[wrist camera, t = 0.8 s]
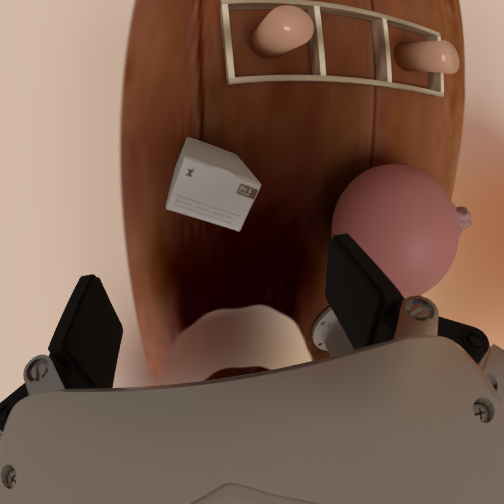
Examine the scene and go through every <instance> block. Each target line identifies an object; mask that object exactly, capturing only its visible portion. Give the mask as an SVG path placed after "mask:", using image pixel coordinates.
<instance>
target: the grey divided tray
mask: <svg viewBox="0 0 504 504" xmlns="http://www.w3.org/2000/svg"><path fill="white" fill-rule="evenodd" d="M219 7H220V18H221V29H222V39H223V49H224V60H225V70H226V80H227V85H233V84H244V83H259V82H284V81H312V82H337V83H352V84H363V85H372V86H381V87H388V88H395V89H401V90H407V91H413V92H418V93H423V94H428V95H433V96H440V97H444V78H443V73H450V74H454V73H456V72H457V70H458V68H459V57H458V53H457V51H456V49H455V48H454V46H453V45H452V44H451V43H449V42H448V41H441V38H440V33H438V32H436V31H433V30H430V29H428V28H425V27H422V26H420V25H417V24H414V23H411V22H408V21H405V20H402V19H398V18H395V17H391V16H388V15H384V14H380V13H376V12H372V11H368V10H364V9H359V8H354V7H349V6H343V5H338V4H331V3H324V2H316V1H307V0H221V2H220V6H219ZM253 9H272V11H271V12H270V13H269V14H268V15H267V16H266V17H265V19H264V20H263V21H262V22H261V23H260V24H259V26H258V27H257V28H256V29H255V30H254V31H253V33H252V34H251V36H250V46H251V48H252V50H253V51H254V52H255V53H256V54H257V55H259V56H261V57H264V58H275V57H278V56H280V55H282V54H284V53H286V52H288V51H290V50H292V49H294V48H296V47H298V46H300V45H303V44H305V43H306V42H308V41H309V46H310V57H311V70H312V75H265V76H247V77H235V73H234V63H233V53H232V42H231V32H230V22H229V10H253ZM305 11H306V12H305ZM320 13H327V14H334V15H341V16H347V17H352V18H358V19H363V20H368V21H371V23H372V31H373V41H374V52H375V66H376V80H371V79H362V78H352V77H340V76H326V68H325V55H324V44H323V33H322V24H321V15H320ZM387 25H389V26H392V27H396V28H400V29H403V30H406V31H410V32H413V33H416V34H419V35H422V36H425V37H426V41H425V42H413V43H403V44H399V45H398V46H397V47H396V48H395V59H396V62H397V63H398V65H399V66H400V67H401V68H402V69H403V70H405V71H419V72H428V73H429V89H424V88H420V87H415V86H410V85H404V84H398V83H392V74H391V58H390V45H389V35H388V27H387Z"/></svg>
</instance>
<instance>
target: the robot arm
mask: <svg viewBox="0 0 504 504" xmlns="http://www.w3.org/2000/svg"><path fill="white" fill-rule="evenodd" d="M325 295H326V299H327V301H328V303H329V305H330V307H329V308H328V309H326V310H325V311H324V312H323V313H322V314H321V315H320V316H319V317H318V319H317V320H316V322H315V323H314V326H313V328H312V339H313V342H314V344H315V345H316V346H317V347H318V348H319V349H322V350H325V351H328V353H329V355H330V357H327V358H323V359H319V360H315V361H311V362H306V363H302V364H298V365H293V366H289V367H284V368H279V369H274V370H269V371H264V372H259V373H253V374H248V375H242V376H236V377H229V378H223V379H216V380H208V381H201V382H192V383H183V384H172V385H161V386H148V387H132V388H131V387H130V388H112V387H113V381H114V375H115V370H116V364H117V359H118V353H119V349H120V344H121V339H122V335H123V328H122V324H121V322H120V321H119V318H118V316H117V314H116V312H115V310H114V308H113V306H112V304H111V302H110V300H109V298H108V296H107V293H106V291H105V289H104V287H103V284H102V282H101V280H100V278H98V277H96V276H95V275H86V276H81V278H80V279H79V281H78V283H77V285H76V287H75V289H74V291H73V293H72V295H71V297H70V299H69V301H68V303H67V305H66V308H65V310H64V312H63V314H62V317H61V319H60V321H59V323H58V325H57V328H56V330H55V332H54V335H53V337H52V340H51V342H50V345H49V347H48V350H49V351H50V355H49V356H47V355H39V356H36V357H34V358H33V359H32V360H30V361H29V363H28V364H27V365H26V367H25V369H24V374H23V375H24V381H25V383H24V384H23V385H22V386H21V387H19V388H18V389H17V390H16V391H14V392H13V393H12V394H11V395H9V396H8V397H7V398H6V399H5V400H4V401H2V402H1V403H0V504H504V350H503V349H501V348H499V347H498V346H496V345H494V344H493V345H492V347H491V346H489V341H488V338H487V336H486V335H485V334H484V333H483V332H482V331H481V330H479V329H477V328H475V327H472V326H469V325H465V324H462V323H459V322H455V321H452V320H449V319H445V318H442V317H439V316H438V309H437V307H436V305H435V304H434V303H433V302H432V301H430V300H429V299H427V298H425V297H422V296H410V297H407V298H406V299H405V298H404V297H403V296H402V294H401V292H400V291H399V290H398V289H397V287H396V286H395V285H394V284H393V283H392V282H391V280H390V279H389V278H388V277H387V276H386V275H385V274H384V272H383V271H382V270H381V269H380V268H379V267H378V266H377V265H376V263H375V262H374V261H373V260H372V259H371V258H370V257H369V256H368V255H367V253H366V252H365V251H364V250H363V249H362V248H361V247H360V246H359V245H358V244H357V243H356V242H355V240H354V239H353V238H352V237H351V236H350V235H349V234H348V233H345V234H339V235H334V236H333V239H330V240H329V248H328V263H327V276H326V288H325Z"/></svg>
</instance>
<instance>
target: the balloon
mask: <svg viewBox="0 0 504 504" xmlns="http://www.w3.org/2000/svg"><path fill="white" fill-rule="evenodd" d="M470 218H471V214H470V212H468V210H467V208H465V207H455V205H454V204H453V203H452V201H451V199H450V198H449V196H448V194H447V193H446V191H445V190H444V189H443V187H442V186H441V185H440V184H439V183H438V182H437V181H436V180H435V179H434V178H432V177H431V176H430V175H428V174H427V173H425V172H423V171H421V170H419V169H417V168H414V167H411V166H407V165H402V164H386V165H381V166H377V167H374V168H371V169H369V170H367V171H365V172H363V173H362V174H360V175H359V176H357V177H356V178H355V179H354V180H353V181H352V182H351V183H350V184H349V185H348V186H347V187H346V188H345V190H344V191H343V193H342V194H341V196H340V198H339V200H338V202H337V204H336V207H335V210H334V214H333V218H332V239H333V236H334V235H339V234H345V233H348V234H349V235H350V236H351V237H352V238H353V239H354V240H355V242H356V243H357V244H358V245H359V246H360V247H361V248H362V249H363V250H364V251H365V252H366V253H367V255H368V256H369V257H370V258H371V259H372V260H373V261H374V262H375V263H376V265H377V266H378V267H379V268H380V269H381V270H382V271H383V272H384V274H385V275H386V276H387V277H388V278H389V279H390V280H391V282H392V283H393V284H394V285H395V286H396V287H397V289H398V290H399V291H400V292H401V294H402V296H403V297H404V298H405V299H406V298H407V297H410V296H418V295H421V294H423V293H425V292H426V291H428V290H430V289H431V288H433V287H434V286H435V285H436V284H437V283H438V282H439V281H440V280H441V279H442V278H443V277H444V276H445V274H446V273H447V271H448V270H449V268H450V266H451V264H452V262H453V260H454V257H455V254H456V251H457V247H458V239H459V237H460V236H461V234H462V232H463V230H464V229H465V228H467V227H470V226H471V220H470Z"/></svg>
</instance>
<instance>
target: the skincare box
mask: <svg viewBox="0 0 504 504" xmlns="http://www.w3.org/2000/svg"><path fill="white" fill-rule="evenodd" d="M260 187H261V183H260V182H259V181H258V180H257V179H256V177H255V176H254V175H253V174H252V173H251V171H250V170H249V169H248V168H247V167H246V165H245V164H244V163H243V162H242V161H241V160H240V158H239V157H238V156H237V155H236V154H234V153H231V152H229V151H226V150H224V149H221V148H218V147H216V146H213V145H210V144H208V143H205V142H202V141H199V140H197V139H194V138H191V137H187V138H186V141H185V143H184V146H183V148H182V151H181V153H180V156H179V158H178V161H177V164H176V166H175V170H174V175H173V178H172V182H171V186H170V190H169V194H168V199H167V203H166V209H168V210H171V211H174V212H178V213H181V214H184V215H188V216H191V217H194V218H198V219H201V220H204V221H207V222H211V223H214V224H217V225H220V226H224V227H227V228H230V229H233V230H236V231H240V230H241V228H242V226H243V223H244V221H245V219H246V217H247V215H248V212H249V210H250V208H251V206H252V204H253V202H254V200H255V198H256V196H257V193H258V191H259V189H260Z"/></svg>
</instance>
